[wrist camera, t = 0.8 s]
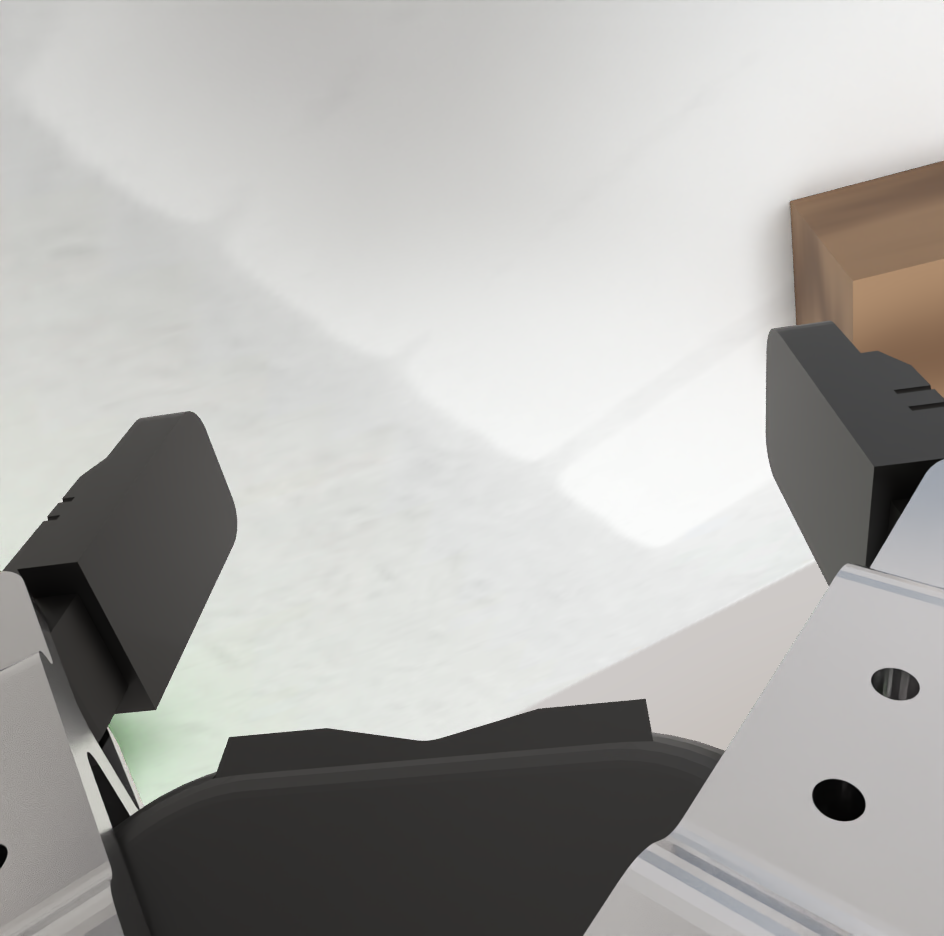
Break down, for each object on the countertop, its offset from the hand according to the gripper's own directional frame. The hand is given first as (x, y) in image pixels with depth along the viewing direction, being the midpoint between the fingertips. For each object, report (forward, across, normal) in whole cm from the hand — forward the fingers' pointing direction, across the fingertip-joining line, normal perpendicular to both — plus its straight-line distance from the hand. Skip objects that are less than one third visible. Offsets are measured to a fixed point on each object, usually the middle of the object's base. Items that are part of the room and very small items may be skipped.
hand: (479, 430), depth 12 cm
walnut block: (+19, -13, +6) cm, 24 cm away
